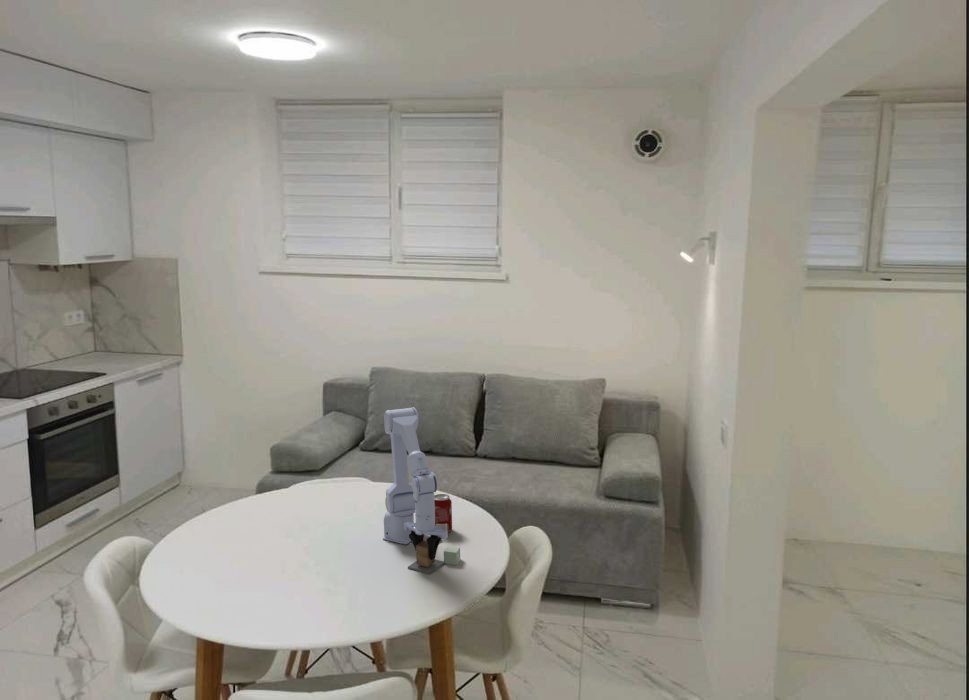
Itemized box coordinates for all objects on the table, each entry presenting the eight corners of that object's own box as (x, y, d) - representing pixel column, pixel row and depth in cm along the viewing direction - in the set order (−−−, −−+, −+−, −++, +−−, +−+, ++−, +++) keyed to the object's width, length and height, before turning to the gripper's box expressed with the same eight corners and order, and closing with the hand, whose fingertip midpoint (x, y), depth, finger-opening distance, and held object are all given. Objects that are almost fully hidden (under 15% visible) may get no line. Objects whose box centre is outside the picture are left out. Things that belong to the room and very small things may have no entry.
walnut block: (424, 558, 225) (423, 540, 224) (435, 561, 223) (434, 542, 222) (416, 564, 222) (415, 545, 221) (427, 567, 220) (427, 548, 219)
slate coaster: (407, 568, 222) (407, 566, 222) (423, 558, 228) (422, 556, 228) (430, 574, 218) (430, 572, 218) (444, 563, 225) (444, 561, 224)
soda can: (449, 535, 245) (448, 501, 243) (429, 534, 246) (428, 499, 244) (454, 527, 251) (453, 493, 249) (435, 526, 252) (434, 492, 250)
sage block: (443, 563, 225) (443, 551, 224) (447, 558, 229) (447, 545, 228) (456, 565, 224) (456, 552, 223) (460, 559, 228) (460, 547, 227)
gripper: (397, 513, 220) (398, 556, 223) (438, 522, 213) (439, 567, 216) (411, 505, 226) (412, 547, 229) (451, 514, 219) (452, 557, 222)
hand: (426, 556), depth 223 cm, fingers closed on walnut block, 4 cm apart
